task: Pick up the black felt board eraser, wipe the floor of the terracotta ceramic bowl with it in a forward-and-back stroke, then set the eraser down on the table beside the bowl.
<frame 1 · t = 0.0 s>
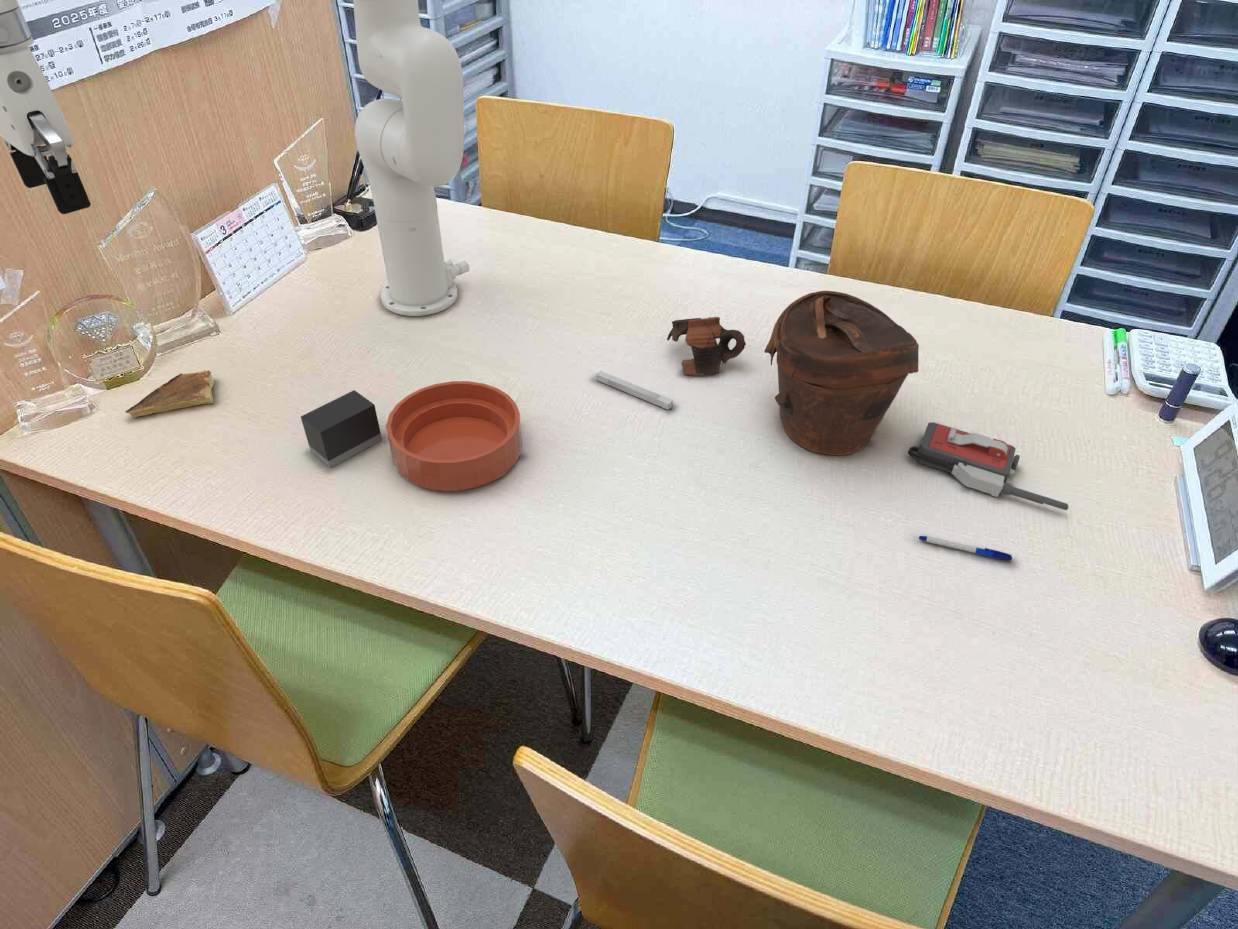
hand: (58, 196, 93), 31 cm above the table, tool pointing down, fingers open, 9 cm apart
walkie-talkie: (984, 475, 108), on the table
bowl: (458, 451, 109), on the table
shard: (183, 403, 116), on the table
ballpoint pen: (963, 551, 97), on the table
grey bar: (633, 393, 120), on the table
eraser: (347, 446, 109), on the table
pottery mug: (703, 361, 127), on the table
case: (823, 426, 115), on the table
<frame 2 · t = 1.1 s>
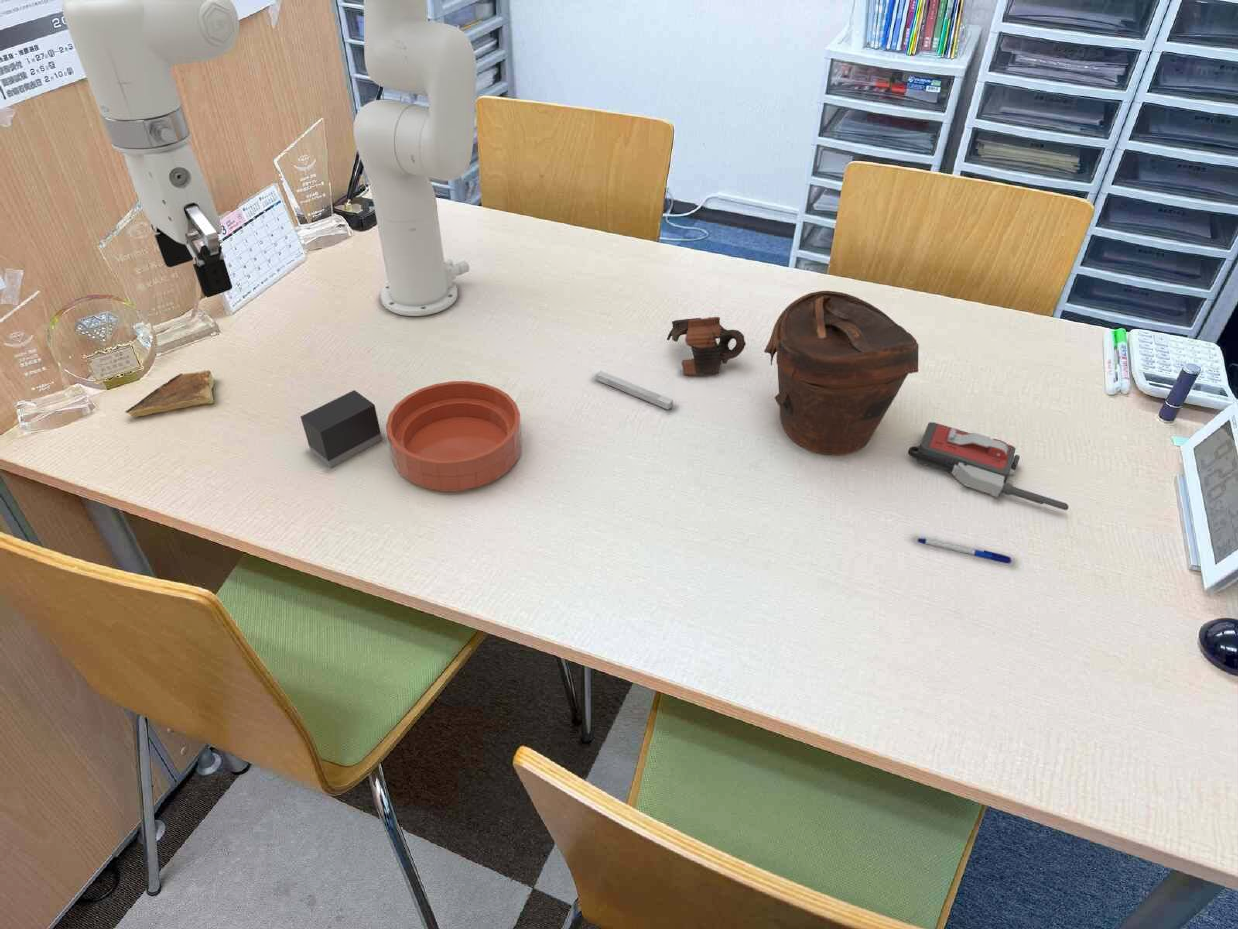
hand: (198, 277, 96), 23 cm above the table, tool pointing down, fingers open, 9 cm apart
nothing on the table moved.
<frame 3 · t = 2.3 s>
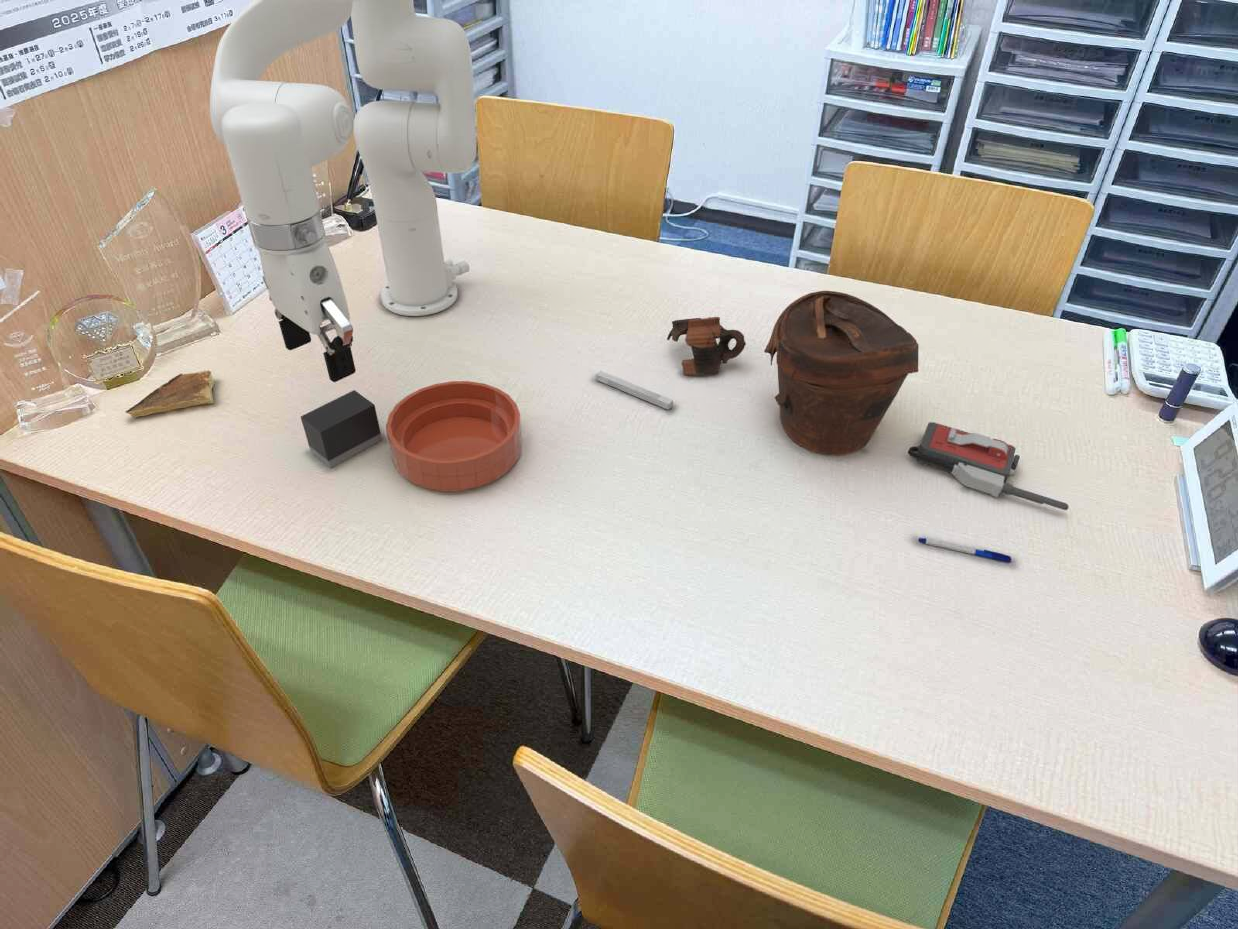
hand: (320, 360, 100), 14 cm above the table, tool pointing down, fingers open, 9 cm apart
nothing on the table moved.
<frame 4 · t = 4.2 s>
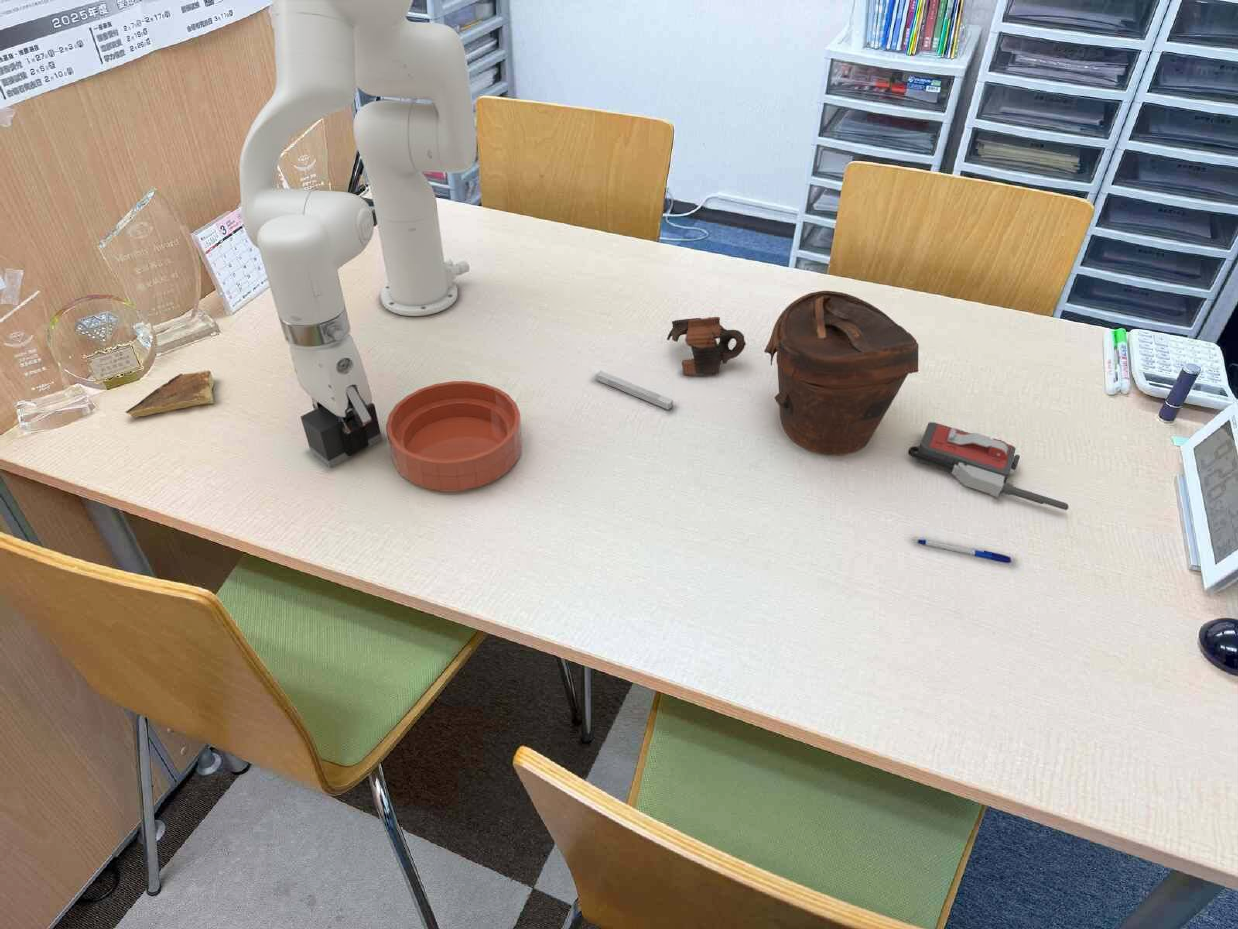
hand: (345, 440, 109), 1 cm above the table, tool pointing down, fingers closed on eraser, 4 cm apart
eraser: (347, 446, 109), on the table, touching gripper
everything else where it was.
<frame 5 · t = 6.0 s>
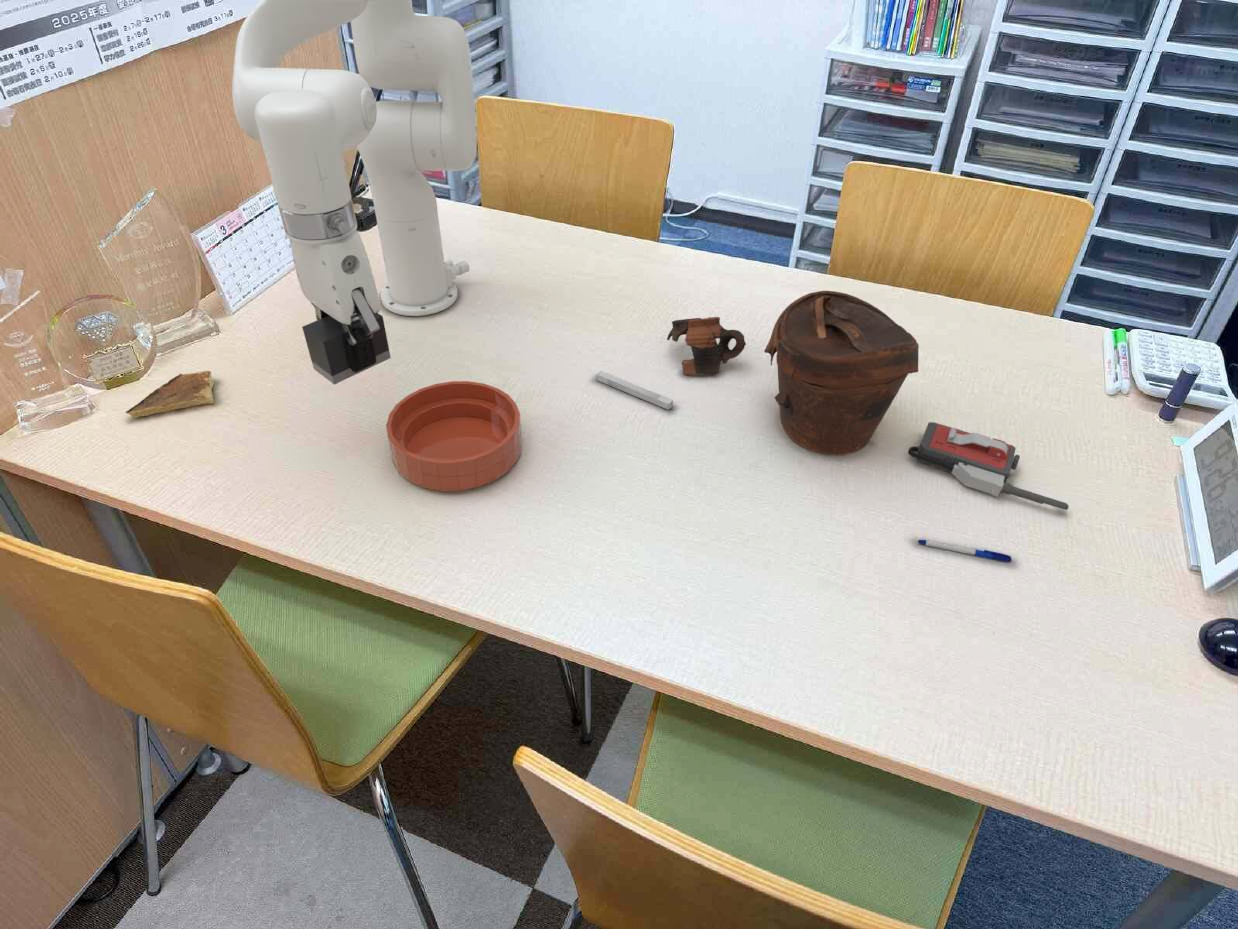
hand: (351, 356, 100), 14 cm above the table, tool pointing down, fingers closed on eraser, 4 cm apart
eraser: (352, 363, 101), point 13 cm above the table, touching gripper
everything else where it was.
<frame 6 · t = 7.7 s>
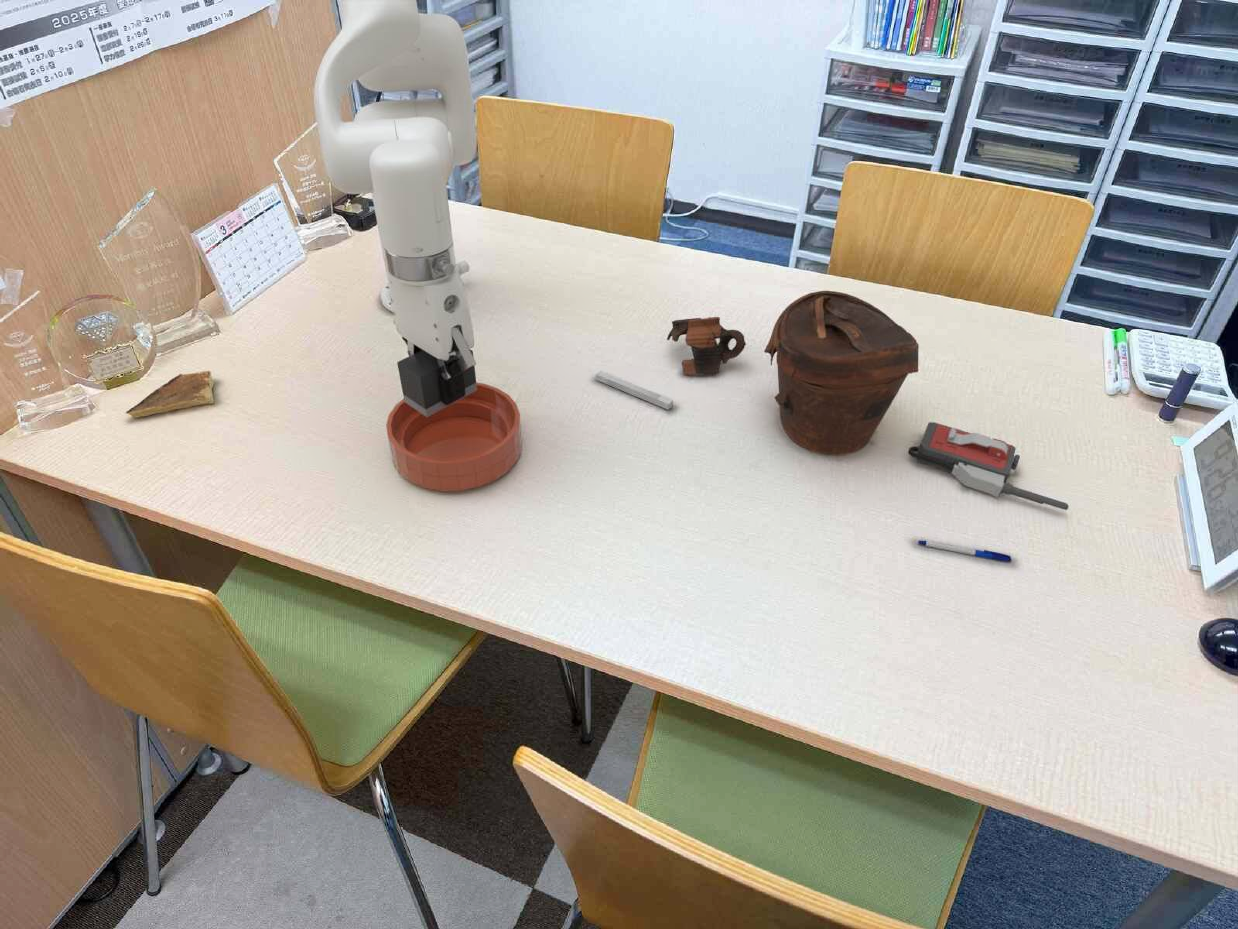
hand: (440, 389, 104), 9 cm above the table, tool pointing down, fingers closed on eraser, 4 cm apart
eraser: (441, 396, 104), point 8 cm above the table, touching gripper
everything else where it was.
when the fingers open (1 cm above the table, at t = 17.2 s): eraser stays where it is, on the table.
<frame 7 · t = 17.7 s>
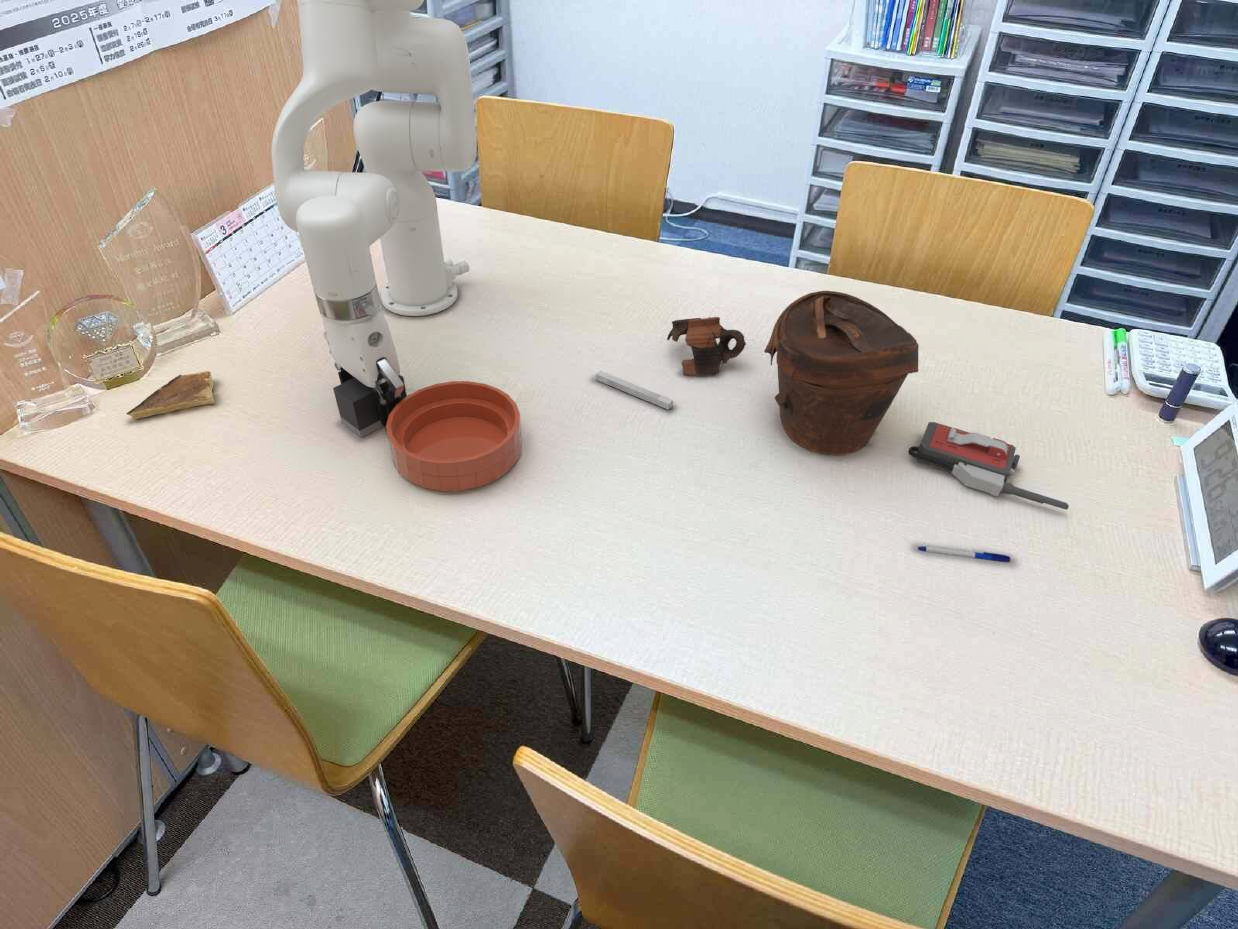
hand: (373, 405, 114), 1 cm above the table, tool pointing down, fingers open, 8 cm apart
eraser: (376, 417, 114), on the table
everything else where it was.
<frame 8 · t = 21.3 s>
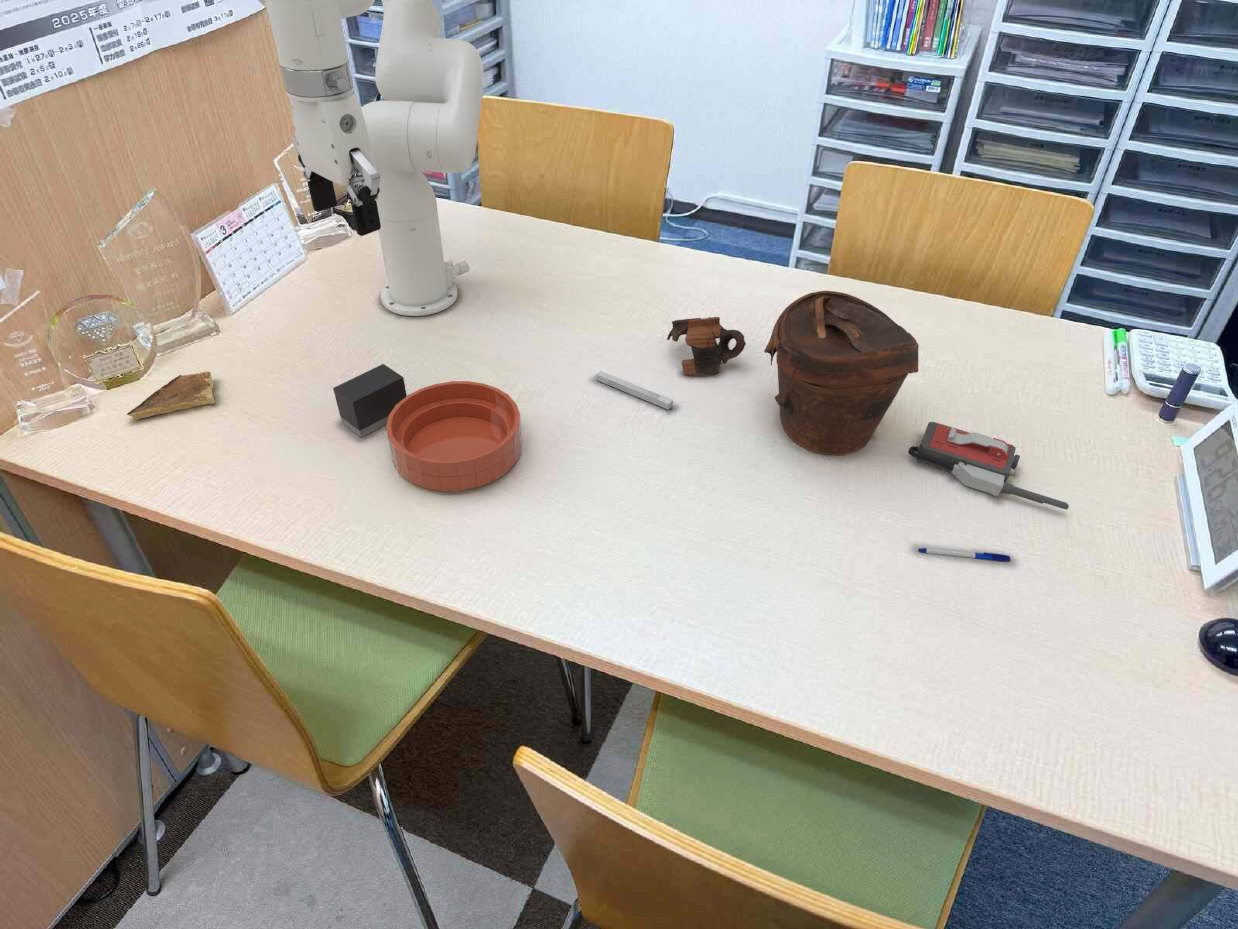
hand: (347, 219, 106), 24 cm above the table, tool pointing down, fingers open, 9 cm apart
nothing on the table moved.
at the end: eraser inside the target area (0.2 cm from its centre), on the table; eraser tilted 0°; the gripper is holding nothing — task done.
